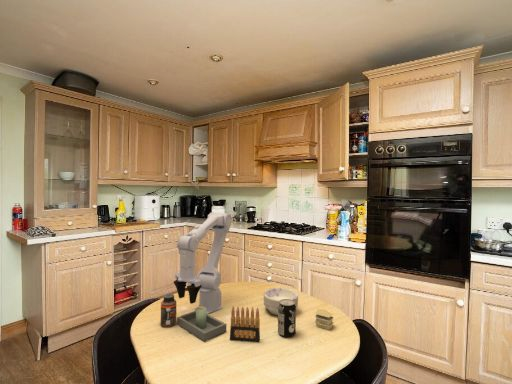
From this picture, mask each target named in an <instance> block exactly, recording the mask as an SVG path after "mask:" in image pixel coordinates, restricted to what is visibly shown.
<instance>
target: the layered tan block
mask: <svg viewBox="0 0 512 384" xmlns="http://www.w3.org/2000/svg"><path fill="white" fill-rule="evenodd" d="M314 318H315V324H316V325H315V326H316V328H319V329H320V328H321V329H323V330H325V331H330V330H331V329H333V324H334V322H333V320H334V313H332V312H331V311H328V310H326V309H324V308H317V310H316V311H315V317H314Z"/></svg>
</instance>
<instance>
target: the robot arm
mask: <svg viewBox="0 0 512 384" xmlns="http://www.w3.org/2000/svg"><path fill="white" fill-rule="evenodd" d="M231 225H232V216H231V214H230V213H227V212H226V213H225V212H213V211H211V212H210V213H209V214H207V218H206V220H204V222H203V223H201V225H195V226H194V228H192V229H191V230H190V231H189V232H188V233H187V234H185V235H181V236H180V237H179V238H178V240H177V243H176V247H177V249H178V254H179V272H177V273H175V274H174V279H176V280H173V284H174V286H175V288H176V290H177V291H176V292H177V296H178V299H183V298H185V295H186V289H187V291H188V297H189V298H188V299H189V304H194V303H196V302H197V298H198V297H199V301H198V303H199V304H198V305H199V306H198V307H200V306H203V307H206V308H207V314H208V315H209V314H211V313H214V312H217V311H219V310H222V309H223V307H222V291H221V289H220V288H219V287H220V285H221V276H222V274H221V273H220V271H219V270H218V267H219V263H220V259H221V256H222V252H223V248H224V244H225V241H226V238H227V233H230V229H231ZM209 230H211V231H212V232H214V237H213V241H212V244H211V247H210V251H209V254H208V257H207V261H206V264H205V266H203V267H202V268H201V269H200V270H199V272H198V274H197V276H196V274H195V271H196V270H195V269H196V262H195V261H196V250H197V249H198V246H199V244H200V242H202V240H203V239H204V238H205V237H206V236H207V232H208V231H209ZM187 283H188V284H190V285H187ZM198 293H199V294H198ZM198 295H199V296H198ZM196 308H197V307H195V308H194V309H195V310H196Z"/></svg>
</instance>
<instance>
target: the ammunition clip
mask: <svg viewBox="0 0 512 384" xmlns="http://www.w3.org/2000/svg"><path fill="white" fill-rule="evenodd" d="M259 310H260V309H259V307H257V308H256V309H255V310H254V307H252V306H251V309H249V307H248V306H247V307H246V309H245V308H244V306H242V307H241V310H240V307H239V306H237V307H236V312H235V307H234V305H232V307H231V312H230V313H231V314H230V315H231V316H230V327H229V329H230V330H229V341H231V342H232V341H233V342H235V341H236V342H249V343H260V342H261V333H260V332H261V329H260V327H261V326H260V323H261V322H260V320H261V319H260V311H259Z"/></svg>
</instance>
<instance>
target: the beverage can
mask: <svg viewBox="0 0 512 384" xmlns="http://www.w3.org/2000/svg"><path fill="white" fill-rule="evenodd" d="M296 315H297V308H296V305H295V302H294V301H293V300H290V299H282V300H280V301H279V305H278V315H277V332H278V335H280V337H282V338H292V337H294V335H296V332H297V331H296V329H297V326H296V325H297V323H296V321H297V318H296V317H297V316H296Z"/></svg>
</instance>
